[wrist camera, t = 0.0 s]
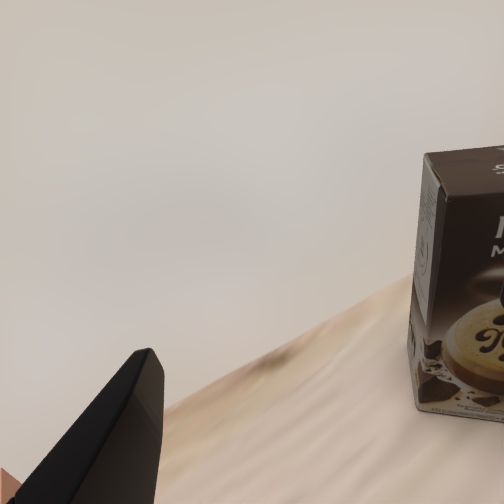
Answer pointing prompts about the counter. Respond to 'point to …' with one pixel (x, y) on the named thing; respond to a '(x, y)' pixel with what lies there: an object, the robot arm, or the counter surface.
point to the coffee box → (459, 285)
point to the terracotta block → (7, 486)
